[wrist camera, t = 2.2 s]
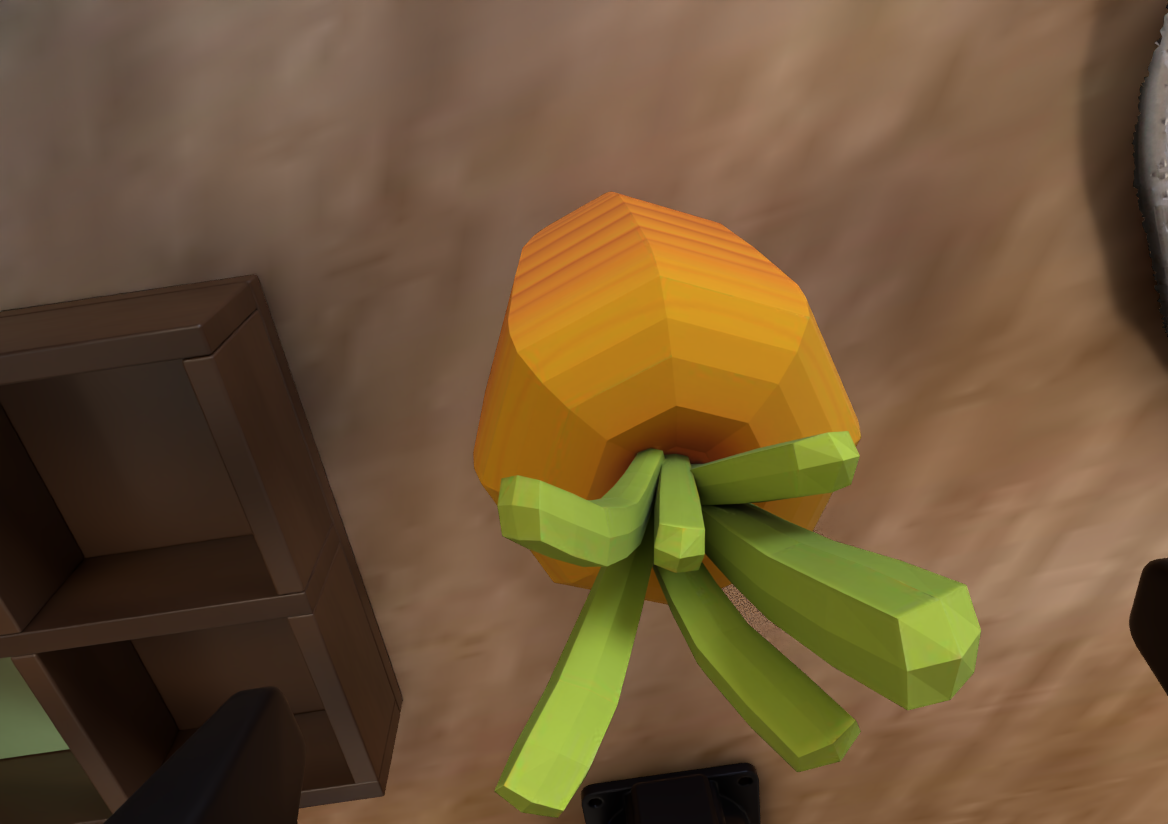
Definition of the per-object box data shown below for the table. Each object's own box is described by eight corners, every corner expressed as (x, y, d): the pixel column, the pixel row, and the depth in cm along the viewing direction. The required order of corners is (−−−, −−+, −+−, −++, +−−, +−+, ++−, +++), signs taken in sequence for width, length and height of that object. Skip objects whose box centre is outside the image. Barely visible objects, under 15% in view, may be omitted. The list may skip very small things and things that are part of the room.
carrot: (517, 345, 20) (479, 1001, 6) (485, 148, 18) (329, 529, 4) (704, 322, 20) (1056, 930, 6) (697, 122, 18) (1216, 420, 4)
